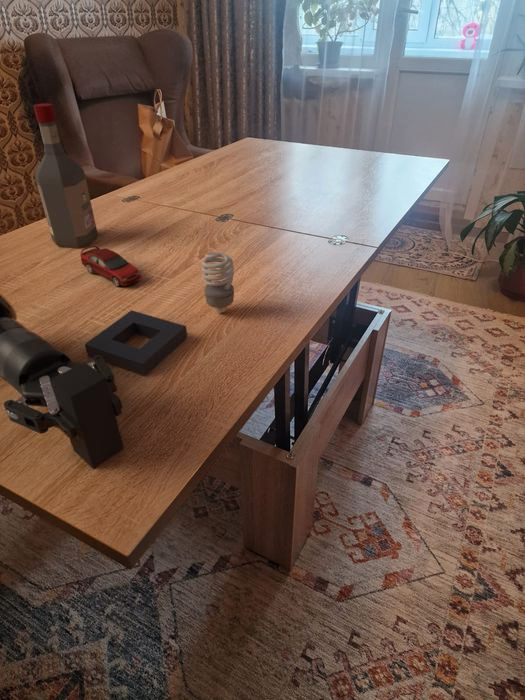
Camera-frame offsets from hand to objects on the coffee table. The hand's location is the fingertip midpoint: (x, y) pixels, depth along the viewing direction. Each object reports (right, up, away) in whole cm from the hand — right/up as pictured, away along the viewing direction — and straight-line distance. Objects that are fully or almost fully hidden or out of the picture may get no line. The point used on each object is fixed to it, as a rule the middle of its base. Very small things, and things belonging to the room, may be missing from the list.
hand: (99, 420), depth 57 cm
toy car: (-13, +24, +45) cm, 53 cm away
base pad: (-2, +9, +24) cm, 26 cm away
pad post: (-2, -5, +6) cm, 7 cm away
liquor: (-26, +35, +61) cm, 75 cm away
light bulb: (+12, +15, +33) cm, 38 cm away
